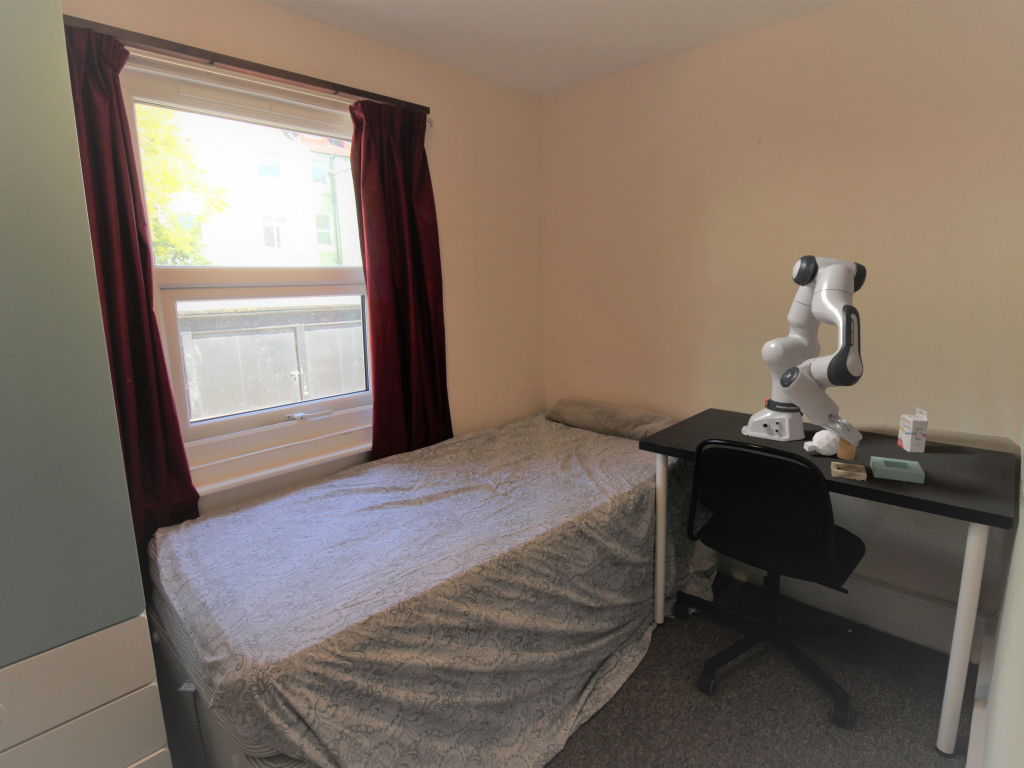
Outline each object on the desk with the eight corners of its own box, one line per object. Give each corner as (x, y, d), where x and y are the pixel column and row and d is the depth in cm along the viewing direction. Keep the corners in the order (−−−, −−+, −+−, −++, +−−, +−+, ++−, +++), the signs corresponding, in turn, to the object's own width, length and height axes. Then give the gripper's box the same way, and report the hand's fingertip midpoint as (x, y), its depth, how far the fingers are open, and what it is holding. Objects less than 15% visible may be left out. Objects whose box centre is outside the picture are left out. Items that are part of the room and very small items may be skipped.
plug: (837, 458, 162) (841, 429, 160) (836, 453, 166) (840, 425, 164) (854, 461, 160) (859, 431, 158) (853, 456, 164) (858, 427, 162)
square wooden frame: (832, 476, 162) (832, 470, 161) (830, 467, 169) (831, 461, 169) (866, 481, 157) (866, 474, 157) (863, 471, 165) (863, 465, 165)
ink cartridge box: (896, 445, 190) (900, 405, 188) (911, 445, 189) (916, 406, 187) (908, 452, 182) (913, 411, 179) (924, 453, 181) (930, 412, 178)
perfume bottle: (828, 444, 187) (796, 449, 187) (833, 423, 183) (800, 428, 182) (845, 458, 180) (811, 464, 179) (850, 437, 175) (816, 442, 175)
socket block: (874, 477, 160) (875, 467, 160) (870, 464, 171) (871, 456, 170) (923, 483, 155) (925, 474, 154) (916, 470, 165) (917, 461, 164)
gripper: (849, 413, 150) (879, 446, 151) (813, 396, 169) (840, 425, 171) (832, 428, 151) (862, 460, 152) (797, 409, 171) (824, 437, 172)
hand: (850, 441), depth 162 cm, fingers closed on plug, 5 cm apart
